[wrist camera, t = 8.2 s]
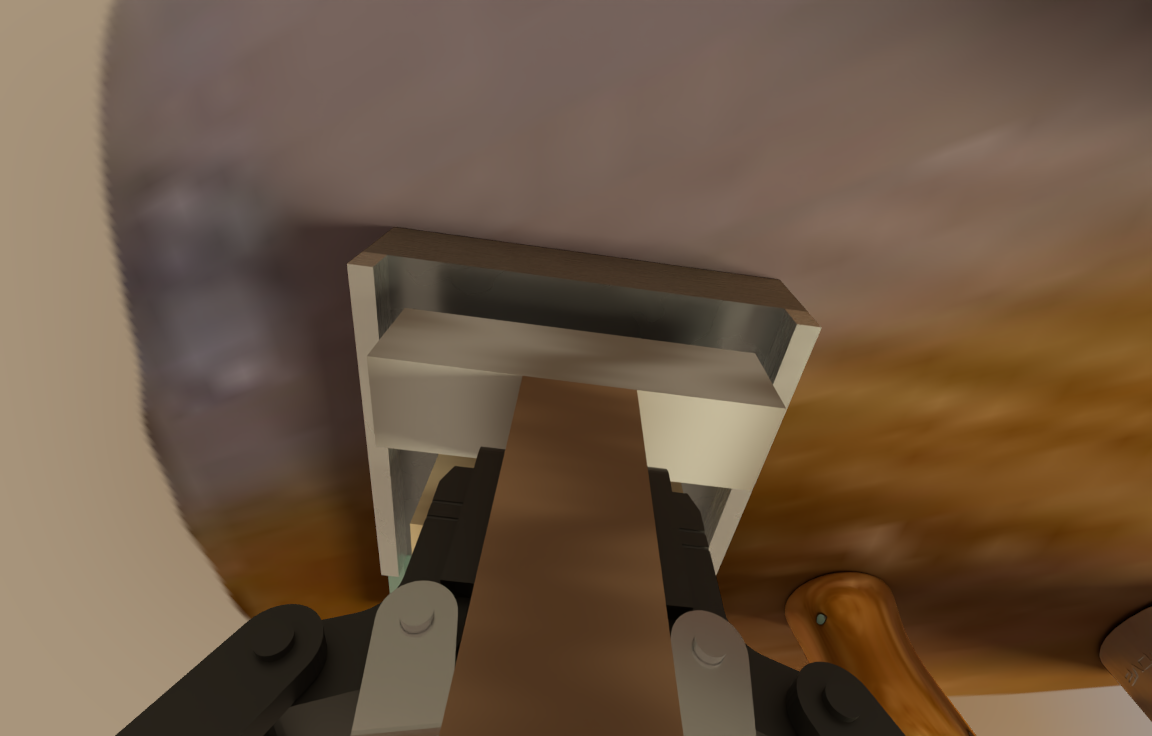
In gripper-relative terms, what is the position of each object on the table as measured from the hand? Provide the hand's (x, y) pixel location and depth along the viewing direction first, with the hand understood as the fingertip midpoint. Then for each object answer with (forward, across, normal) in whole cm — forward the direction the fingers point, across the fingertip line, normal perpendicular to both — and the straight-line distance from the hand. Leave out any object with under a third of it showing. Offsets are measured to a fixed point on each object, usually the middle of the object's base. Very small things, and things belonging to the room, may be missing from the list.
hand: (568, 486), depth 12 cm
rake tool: (+5, 0, 0) cm, 5 cm away
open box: (+10, 0, +5) cm, 11 cm away
